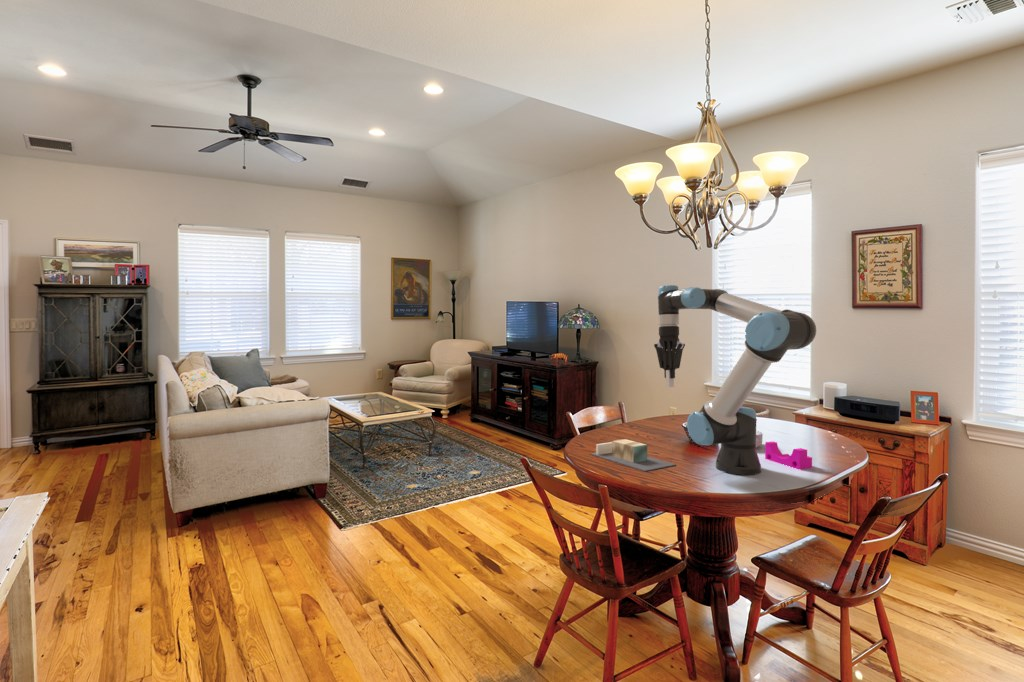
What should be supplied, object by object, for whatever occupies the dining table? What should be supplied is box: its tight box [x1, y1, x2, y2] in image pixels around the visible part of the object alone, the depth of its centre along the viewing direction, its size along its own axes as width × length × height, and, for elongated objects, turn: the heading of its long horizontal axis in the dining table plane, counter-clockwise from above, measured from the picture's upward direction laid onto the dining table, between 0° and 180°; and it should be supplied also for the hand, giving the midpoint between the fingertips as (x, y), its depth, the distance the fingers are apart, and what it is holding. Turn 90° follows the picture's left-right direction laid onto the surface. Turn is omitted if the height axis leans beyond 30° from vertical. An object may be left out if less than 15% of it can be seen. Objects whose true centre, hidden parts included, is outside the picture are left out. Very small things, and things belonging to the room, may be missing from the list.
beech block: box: [611, 438, 648, 463], centre depth 206 cm, size 6×7×12 cm
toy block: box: [764, 441, 813, 470], centre depth 197 cm, size 15×6×8 cm, turn 22°
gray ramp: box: [589, 452, 677, 472], centre depth 205 cm, size 30×16×1 cm, turn 31°
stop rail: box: [595, 441, 612, 455], centre depth 215 cm, size 1×14×4 cm, turn 121°
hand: (669, 386), depth 204 cm, fingers closed
